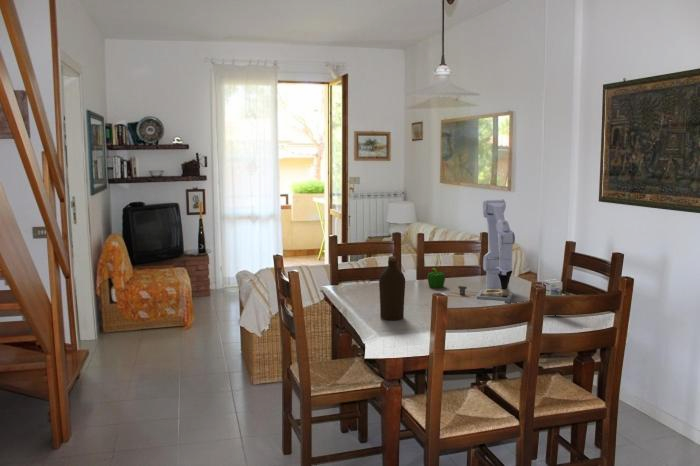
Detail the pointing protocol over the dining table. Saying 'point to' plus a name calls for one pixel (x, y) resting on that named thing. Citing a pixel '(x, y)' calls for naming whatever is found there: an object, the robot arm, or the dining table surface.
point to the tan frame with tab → (496, 292)
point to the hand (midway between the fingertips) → (504, 287)
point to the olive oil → (392, 292)
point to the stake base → (467, 294)
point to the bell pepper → (436, 279)
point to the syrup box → (553, 287)
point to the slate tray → (494, 297)
